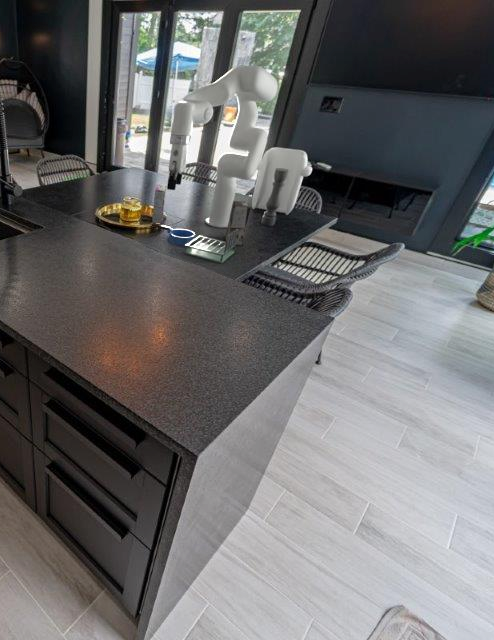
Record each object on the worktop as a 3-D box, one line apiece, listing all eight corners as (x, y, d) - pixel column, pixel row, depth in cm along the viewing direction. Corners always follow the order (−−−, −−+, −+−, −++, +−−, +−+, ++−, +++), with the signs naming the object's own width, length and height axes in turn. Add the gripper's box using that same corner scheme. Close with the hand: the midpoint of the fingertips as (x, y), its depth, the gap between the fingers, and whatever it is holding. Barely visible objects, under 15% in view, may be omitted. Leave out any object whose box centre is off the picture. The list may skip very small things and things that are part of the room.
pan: (156, 230, 186) (157, 220, 183) (197, 240, 176) (199, 230, 173) (145, 236, 178) (146, 226, 176) (187, 247, 169) (188, 236, 166)
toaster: (300, 211, 215) (319, 150, 198) (296, 217, 207) (315, 154, 190) (248, 202, 226) (262, 144, 209) (243, 207, 219) (257, 147, 201)
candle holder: (274, 222, 199) (289, 169, 184) (273, 226, 194) (289, 171, 180) (261, 220, 201) (275, 167, 186) (260, 224, 196) (274, 170, 182)
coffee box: (242, 245, 173) (251, 207, 163) (226, 243, 173) (235, 206, 164) (239, 237, 180) (248, 201, 171) (224, 236, 181) (232, 200, 172)
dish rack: (198, 243, 173) (202, 219, 167) (234, 252, 166) (239, 227, 160) (183, 253, 164) (187, 228, 158) (221, 263, 156) (227, 237, 150)
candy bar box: (153, 218, 199) (156, 184, 190) (163, 219, 199) (167, 184, 189) (151, 225, 190) (154, 190, 181) (161, 226, 190) (165, 190, 180)
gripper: (185, 143, 144) (178, 193, 154) (194, 137, 157) (187, 183, 167) (164, 142, 146) (159, 190, 156) (175, 136, 159) (170, 181, 169)
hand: (173, 186), depth 161 cm, fingers open, 9 cm apart
